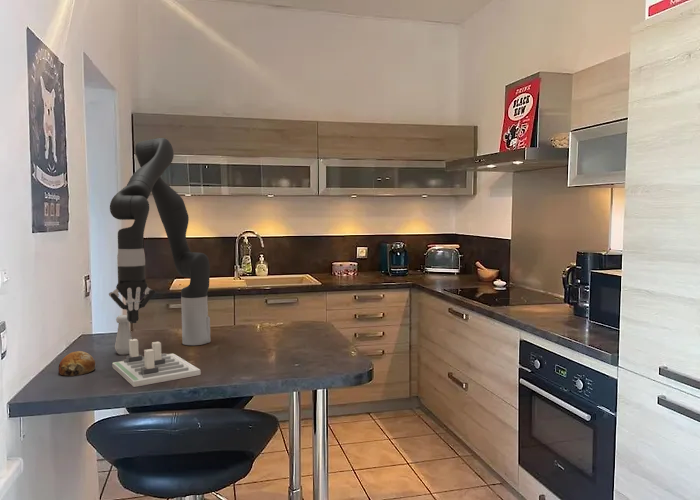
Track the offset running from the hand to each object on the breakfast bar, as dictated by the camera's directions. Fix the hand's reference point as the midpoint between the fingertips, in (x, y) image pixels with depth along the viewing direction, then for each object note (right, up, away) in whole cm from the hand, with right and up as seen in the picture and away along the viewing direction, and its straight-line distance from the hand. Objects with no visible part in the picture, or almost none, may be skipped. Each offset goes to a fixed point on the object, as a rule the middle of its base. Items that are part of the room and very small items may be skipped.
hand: (132, 322), depth 164 cm
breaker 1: (-3, -13, +9) cm, 16 cm away
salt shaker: (-13, -14, +26) cm, 32 cm away
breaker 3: (+5, -14, +5) cm, 15 cm away
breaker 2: (+6, -14, -4) cm, 16 cm away
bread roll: (-19, -16, +5) cm, 25 cm away
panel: (+5, -15, +5) cm, 17 cm away
